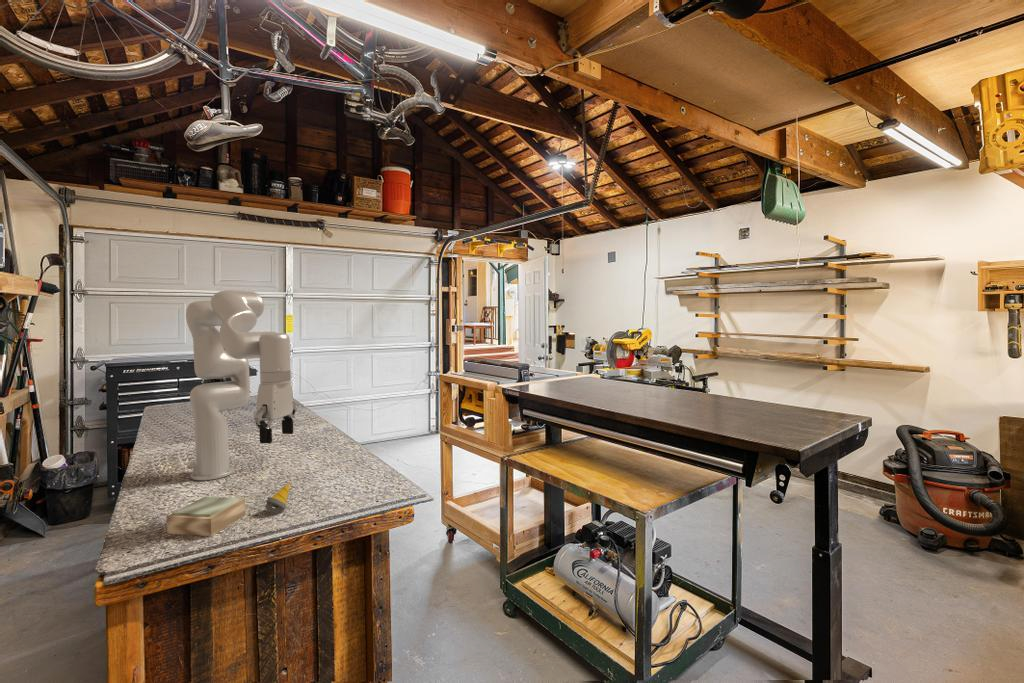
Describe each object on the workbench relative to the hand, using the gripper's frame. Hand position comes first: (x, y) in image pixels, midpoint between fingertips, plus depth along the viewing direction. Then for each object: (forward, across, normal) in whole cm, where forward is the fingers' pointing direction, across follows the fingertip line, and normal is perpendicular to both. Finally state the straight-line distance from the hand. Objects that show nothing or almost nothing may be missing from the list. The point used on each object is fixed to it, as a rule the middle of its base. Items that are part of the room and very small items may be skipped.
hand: (277, 438), depth 125 cm
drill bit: (+21, 0, 0) cm, 21 cm away
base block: (+20, +10, -13) cm, 26 cm away
